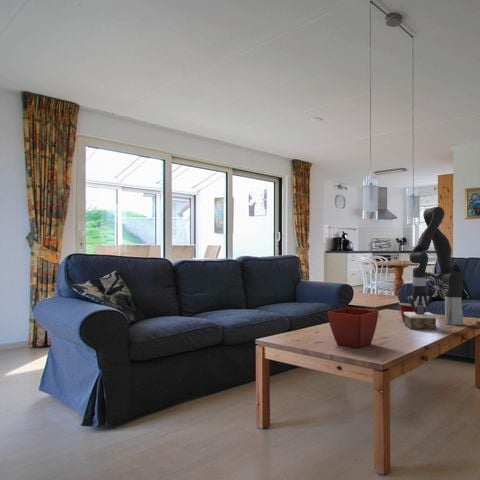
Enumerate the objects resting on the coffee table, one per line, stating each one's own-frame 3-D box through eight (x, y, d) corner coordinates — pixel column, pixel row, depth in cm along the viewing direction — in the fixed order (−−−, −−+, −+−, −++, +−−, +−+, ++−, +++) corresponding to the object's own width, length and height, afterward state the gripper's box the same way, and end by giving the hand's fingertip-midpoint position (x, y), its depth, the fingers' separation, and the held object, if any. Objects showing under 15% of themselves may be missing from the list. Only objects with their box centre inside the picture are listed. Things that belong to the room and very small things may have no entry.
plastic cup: (420, 323, 265) (419, 304, 265) (403, 323, 265) (402, 304, 265) (413, 320, 275) (413, 302, 276) (396, 320, 276) (396, 302, 276)
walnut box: (428, 325, 258) (428, 314, 258) (436, 330, 244) (435, 318, 244) (404, 325, 260) (404, 313, 260) (411, 329, 246) (411, 317, 246)
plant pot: (326, 344, 211) (326, 311, 211) (346, 338, 225) (346, 307, 225) (360, 351, 198) (360, 315, 198) (380, 344, 211) (379, 310, 211)
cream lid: (428, 315, 259) (428, 304, 259) (437, 319, 244) (436, 307, 244) (403, 315, 260) (403, 303, 261) (410, 319, 246) (410, 307, 246)
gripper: (429, 284, 255) (429, 312, 255) (405, 284, 257) (405, 312, 257) (433, 285, 248) (434, 314, 247) (408, 285, 250) (409, 314, 249)
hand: (419, 313), depth 252 cm, fingers closed on cream lid, 3 cm apart
